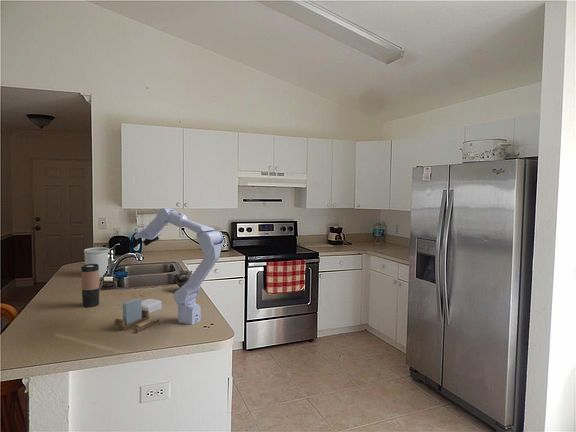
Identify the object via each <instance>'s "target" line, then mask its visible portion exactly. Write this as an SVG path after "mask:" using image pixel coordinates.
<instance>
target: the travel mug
mask: <svg viewBox="0 0 576 432" xmlns="http://www.w3.org/2000/svg"><path fill="white" fill-rule="evenodd" d="M80 269H81V299H82V301H81V302H82V307H83V308H93V307H98V306H99V305H100V277H99V265H98V264H86V265H85V264H84V265H81V268H80Z"/></svg>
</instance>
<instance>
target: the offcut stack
mask: <svg viewBox="0 0 576 432" xmlns="http://www.w3.org/2000/svg"><path fill="white" fill-rule="evenodd" d="M153 321H154V319H150V318H149V319H148V320H145V321H143V322H140V323H138V324H136V325H135V327H134V330H136V329H137V328H139V327H142V326H144V325H146V324H149V323H151V322H153Z"/></svg>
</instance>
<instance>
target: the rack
mask: <svg viewBox="0 0 576 432" xmlns="http://www.w3.org/2000/svg"><path fill="white" fill-rule="evenodd" d="M148 319H150V313H149V311H147V310H142V319H140V320H137V321H135V322H132V323H130V324H127V325H125V320H123V319H121V318H115V319H114V328H113V329H114V330H118V331H122V332H127V333H129V334H133V335H135V334H138V333H141V332H143V331H145V330H146V329H149V328H152V327H155V326H157V325H158V324H161V322H160V319H156V320H153V322H151V323H149V324H146V325H144V326H142V327H139V328H137V329H136V330H134V327H135V325H136V324H138V323H140V322H143V321H145V320H148Z"/></svg>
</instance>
